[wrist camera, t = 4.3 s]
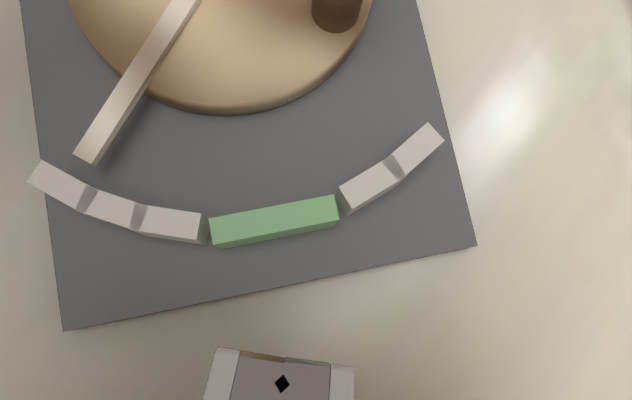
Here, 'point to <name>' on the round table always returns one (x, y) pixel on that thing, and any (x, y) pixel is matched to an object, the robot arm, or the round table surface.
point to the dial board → (240, 176)
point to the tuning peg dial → (213, 54)
